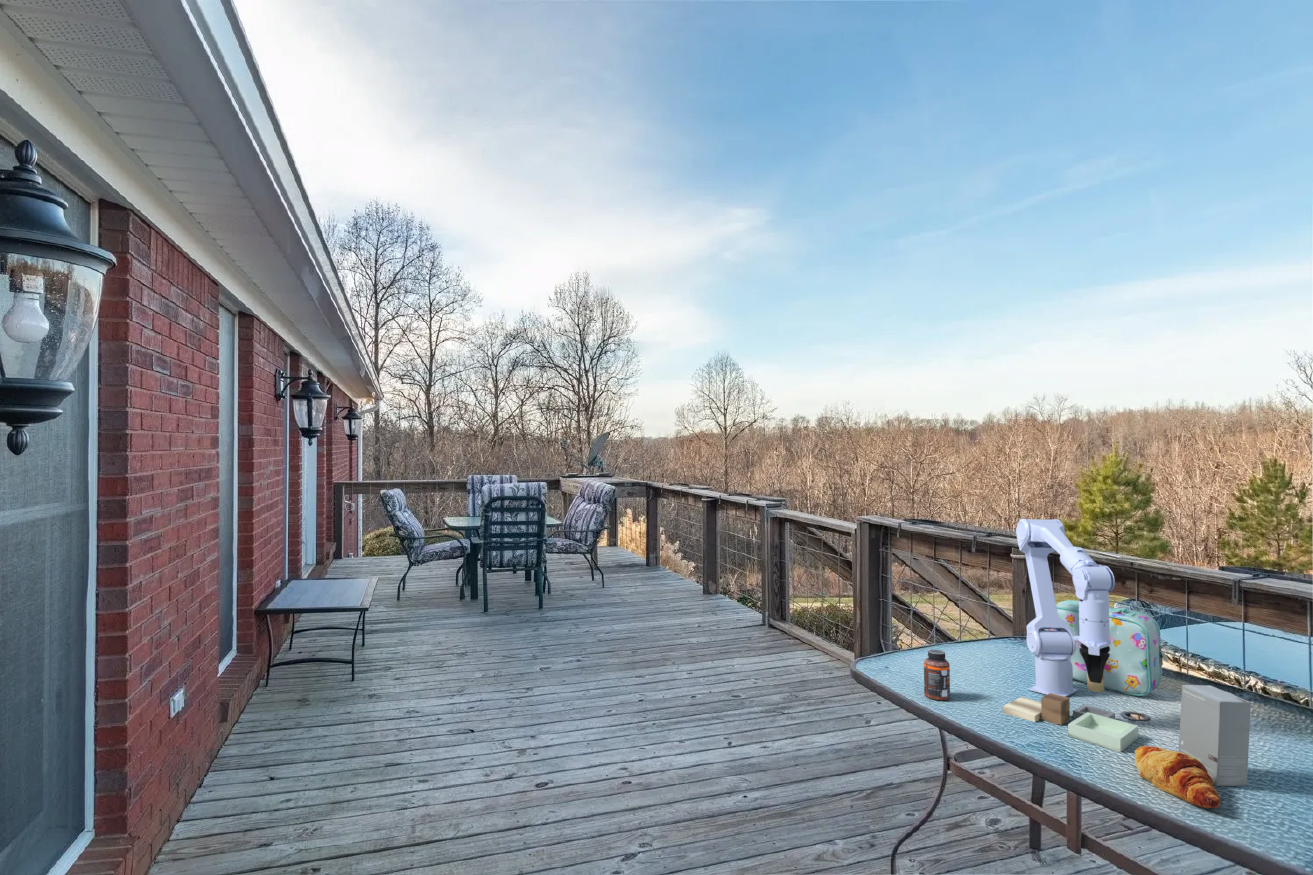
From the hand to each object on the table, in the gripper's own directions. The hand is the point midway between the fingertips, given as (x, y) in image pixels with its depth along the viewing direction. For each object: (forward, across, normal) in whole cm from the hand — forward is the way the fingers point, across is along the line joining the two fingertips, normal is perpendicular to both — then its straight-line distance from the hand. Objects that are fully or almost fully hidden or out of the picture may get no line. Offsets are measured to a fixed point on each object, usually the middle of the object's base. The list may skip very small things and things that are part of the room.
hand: (1095, 679), depth 146 cm
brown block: (+10, +4, -8) cm, 13 cm away
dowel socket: (+10, -2, 0) cm, 10 cm away
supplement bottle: (+10, +4, -33) cm, 35 cm away
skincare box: (+10, +17, +19) cm, 27 cm away
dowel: (+2, 0, 0) cm, 2 cm away
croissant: (+10, +26, +12) cm, 30 cm away
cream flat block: (+10, +2, -13) cm, 17 cm away
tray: (+10, +8, +1) cm, 13 cm away
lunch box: (+10, -31, +1) cm, 33 cm away
